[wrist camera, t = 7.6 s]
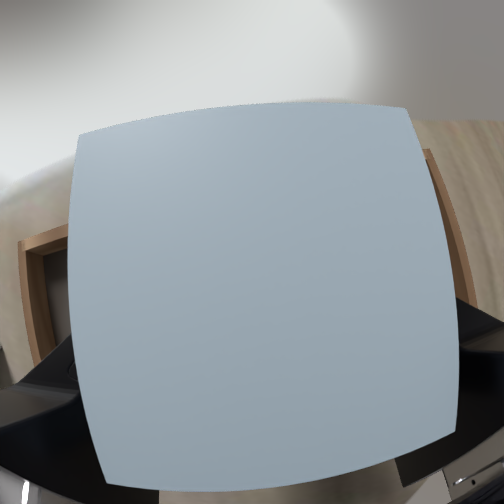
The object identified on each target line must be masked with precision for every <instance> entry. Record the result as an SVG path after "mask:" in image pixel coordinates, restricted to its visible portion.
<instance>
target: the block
mask: <svg viewBox="0 0 504 504" xmlns="http://www.w3.org/2000/svg"><path fill="white" fill-rule="evenodd" d="M68 294H69V310H70V322H71V332H72V341H73V349H74V356H75V363H76V369H77V375H78V381H79V386H80V391H81V396H82V401H83V405H84V409H85V414H86V418H87V422H88V426H89V429H90V433H91V437H92V440H93V444H94V447H95V450H96V453H97V456H98V460H99V463H100V466H101V468H102V471H103V474H104V477H105V480H106V482H107V483H109V484H115V485H121V486H128V487H135V488H143V489H153V490H166V491H185V492H221V491H241V490H253V489H263V488H272V487H280V486H286V485H293V484H299V483H304V482H310V481H315V480H319V479H324V478H328V477H333V476H337V475H341V474H345V473H348V472H352V471H356V470H359V469H362V468H366V467H369V466H372V465H375V464H378V463H381V462H384V461H387V460H390V459H393V458H395V457H398V456H401V455H403V454H406V453H408V452H411V451H413V450H416V449H418V448H421V447H423V446H425V445H427V444H430V443H432V442H434V441H436V440H438V439H440V438H443V437H445V436H447V435H449V434H451V433H453V432H455V426H456V417H457V405H458V386H459V340H458V322H457V309H456V299H455V290H454V282H453V275H452V268H451V262H450V256H449V250H448V245H447V240H446V235H445V230H444V225H443V221H442V217H441V213H440V209H439V205H438V201H437V197H436V193H435V190H434V186H433V183H432V179H431V176H430V173H429V170H428V167H427V164H426V160H425V157H424V155H423V152H422V149H421V146H420V143H419V141H418V138H417V135H416V133H415V130H414V127H413V125H412V122H411V120H410V118H409V115H408V113H407V110H406V108H398V107H389V106H378V105H366V104H350V103H318V102H300V103H267V104H251V105H238V106H227V107H217V108H209V109H201V110H194V111H186V112H180V113H174V114H168V115H162V116H156V117H151V118H146V119H141V120H137V121H132V122H128V123H123V124H119V125H115V126H110V127H107V128H103V129H99V130H95V131H91V132H88V133H84V134H81V135H79V139H78V144H77V150H76V156H75V163H74V170H73V178H72V187H71V197H70V209H69V225H68Z"/></svg>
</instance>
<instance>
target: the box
mask: <svg viewBox="0 0 504 504" xmlns="http://www.w3.org/2000/svg"><path fill="white" fill-rule="evenodd" d="M422 152H423V155H424V157H425V160H426V164H427V167H428V170H429V173H430V176H431V179H432V183H433V186H434V190H435V193H436V197H437V201H438V205H439V209H440V213H441V217H442V221H443V225H444V230H445V235H446V240H447V245H448V250H449V256H450V262H451V268H452V275H453V282H454V290H455V297H457V298H459V299H461V300H463V301H464V302H466V303H468V304H470V305H472V306H474V307H476V308H478V306H477V300H476V295H475V289H474V284H473V279H472V275H471V270H470V266H469V261H468V257H467V253H466V249H465V246H464V242H463V238H462V235H461V231H460V228H459V225H458V222H457V218H456V215H455V212H454V209H453V206H452V203H451V200H450V198H449V195H448V192H447V189H446V187H445V184H444V182H443V179H442V176H441V174H440V172H439V169H438V167H437V164H436V162H435V160H434V157H433V155H432V153H431V151H430V149H422ZM68 225H69V223H68V224H66V225H63V226H60V227H57V228H54V229H51V230H49V231H46V232H43V233H40V234H38V235H35V236H32V237H30V238H27V239H25V240H22V241H19V242H18V260H19V275H20V286H21V295H22V303H23V311H24V317H25V324H26V329H27V335H28V340H29V345H30V349H31V354H32V358H33V363H34V367H35V366H36V365H38V364H39V363H40V362H41V361H42V360H43V359H44V358H45V357H46V356H47V355H48V354H49V353H51V352H52V351H53V350H54V349H55V348H56V347H57V346H58V345H59V344H60V343H61V342H62V341H63V340H64V339H65V338H66V337H67V336H68V335H69V334H70V333H71V322H70V310H69V294H68Z"/></svg>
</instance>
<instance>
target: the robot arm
mask: <svg viewBox="0 0 504 504" xmlns="http://www.w3.org/2000/svg"><path fill="white" fill-rule="evenodd" d="M455 299H456V309H457V322H458V340H459V386H458V405H457V417H456V426H455V432H453V433H451V434H449V435H447V436H445V437H443V438H440V439H438V440H436V441H434V442H432V443H430V444H427V445H425V446H423V447H421V448H418V449H416V450H413V451H411V452H408V453H406V454H403V455H401V456H398V457H395V462H396V465H397V469H398V472H399V476H400V479H401V483H402V486H403V487H406V486H409V485H411V484H414V483H416V482H418V481H420V480H422V479H425V478H427V477H429V476H431V475H433V474H435V473H437V472H439V471H441V470H442V471H443V474H444V477H445V480H446V483H447V486H448V489H449V493H450V497H451V500H452V501H451V502H449V503H448V504H504V322H502V321H500V320H498V319H496V318H494V317H492V316H490V315H489V314H487V313H485V312H483V311H481V310H479V309H478V308H476V307H474V306H472V305H470V304H468V303H466V302H464V301H463V300H461V299H459V298H457V297H455ZM0 504H159V490H153V489H143V488H135V487H128V486H121V485H115V484H109V483H107V482H106V480H105V477H104V474H103V471H102V468H101V466H100V463H99V460H98V456H97V453H96V450H95V447H94V444H93V440H92V437H91V433H90V429H89V426H88V422H87V418H86V414H85V409H84V405H83V401H82V396H81V391H80V386H79V381H78V375H77V369H76V363H75V356H74V349H73V341H72V332H71V333H70V334H69V335H68V336H67V337H66V338H65V339H64V340H63V341H62V342H61V343H60V344H59V345H58V346H57V347H56V348H55V349H54V350H53V351H52V352H51V353H49V354H48V355H47V356H46V357H45V358H44V359H43V360H42V361H41V362H40V363H39V364H38V365H36V366H35V367H34V368H33V369H32V370H31V371H30V372H29V373H28V374H27V375H26V376H25V377H24V378H23V379H21V380H20V381H19V382H18V383H16V384H15V385H13V386H11V387H8V388H5V389H2V390H0Z"/></svg>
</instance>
